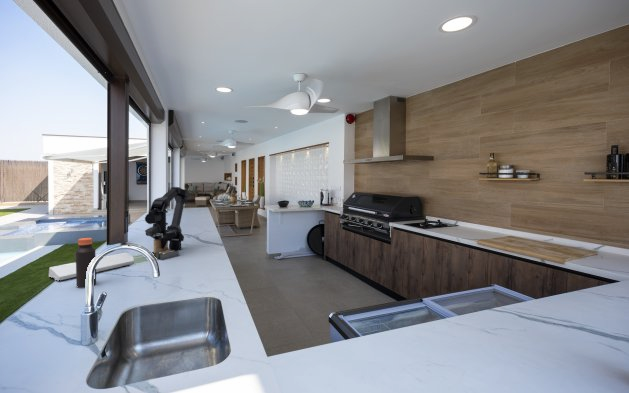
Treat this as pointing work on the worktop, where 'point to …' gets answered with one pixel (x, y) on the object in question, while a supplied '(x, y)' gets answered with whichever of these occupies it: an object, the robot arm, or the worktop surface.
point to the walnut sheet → (159, 246)
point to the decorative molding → (105, 264)
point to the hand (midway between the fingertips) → (160, 248)
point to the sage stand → (139, 259)
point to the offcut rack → (166, 255)
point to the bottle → (84, 260)
